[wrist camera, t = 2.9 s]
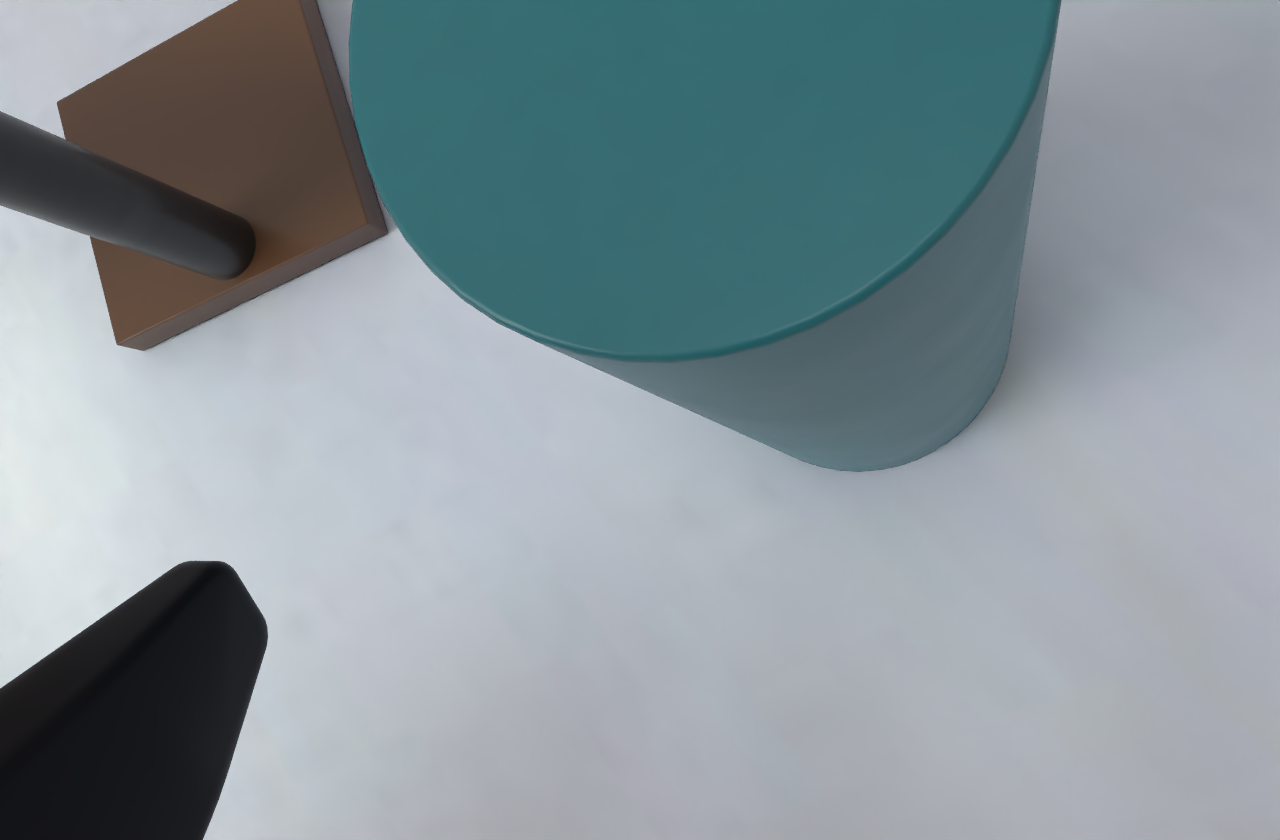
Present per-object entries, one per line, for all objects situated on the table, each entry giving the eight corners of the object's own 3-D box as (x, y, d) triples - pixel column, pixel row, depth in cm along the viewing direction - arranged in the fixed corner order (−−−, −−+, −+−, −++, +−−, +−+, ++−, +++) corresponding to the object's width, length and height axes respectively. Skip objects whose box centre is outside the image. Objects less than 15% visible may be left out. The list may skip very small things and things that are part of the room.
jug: (1015, 469, 19) (1080, 344, 7) (716, 473, 20) (333, 377, 8) (998, -71, 20) (1027, -1012, 8) (714, -28, 21) (372, -760, 9)
